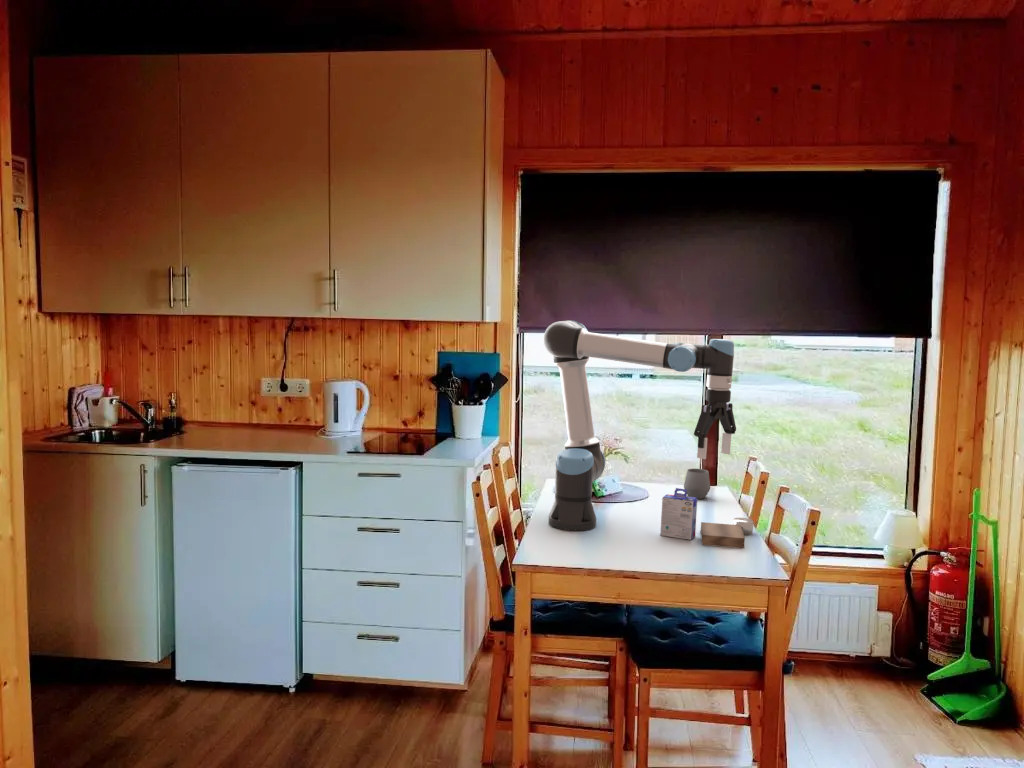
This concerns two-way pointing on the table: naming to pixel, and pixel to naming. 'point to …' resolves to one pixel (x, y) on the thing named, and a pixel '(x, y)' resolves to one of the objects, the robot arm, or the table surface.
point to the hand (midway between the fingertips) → (713, 456)
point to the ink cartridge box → (679, 515)
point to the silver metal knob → (744, 525)
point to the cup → (697, 483)
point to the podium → (722, 535)
